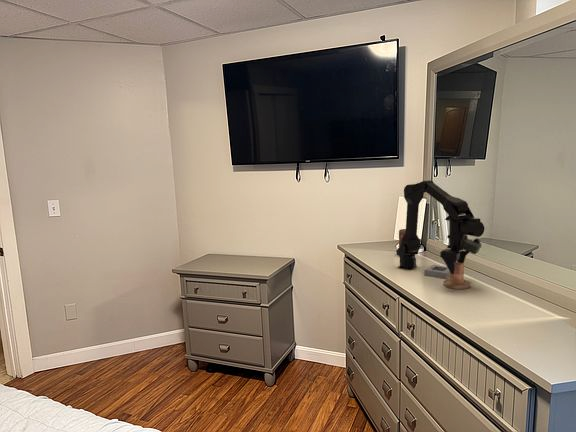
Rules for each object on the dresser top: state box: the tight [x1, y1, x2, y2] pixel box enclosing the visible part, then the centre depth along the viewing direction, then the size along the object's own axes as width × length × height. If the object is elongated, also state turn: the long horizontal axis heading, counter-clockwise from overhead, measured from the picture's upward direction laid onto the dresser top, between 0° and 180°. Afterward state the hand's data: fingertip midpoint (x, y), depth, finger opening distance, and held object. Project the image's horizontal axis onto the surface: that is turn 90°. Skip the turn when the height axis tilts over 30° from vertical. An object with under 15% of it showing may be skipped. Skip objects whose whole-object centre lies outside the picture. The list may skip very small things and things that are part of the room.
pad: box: [442, 278, 471, 291], centre depth 155 cm, size 10×10×1 cm
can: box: [398, 228, 406, 248], centre depth 200 cm, size 6×6×14 cm
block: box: [449, 261, 465, 285], centre depth 154 cm, size 4×4×8 cm
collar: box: [423, 264, 450, 280], centre depth 169 cm, size 10×10×2 cm
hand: (456, 270), depth 154 cm, fingers open, 9 cm apart
